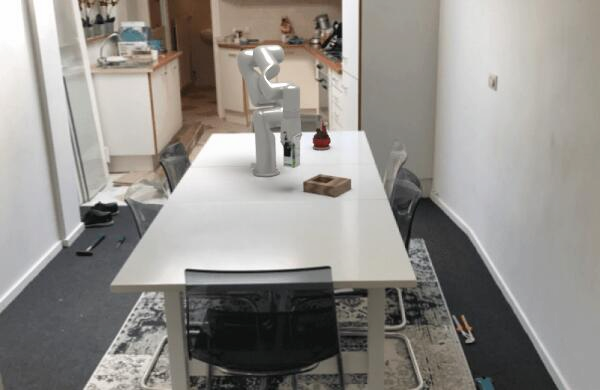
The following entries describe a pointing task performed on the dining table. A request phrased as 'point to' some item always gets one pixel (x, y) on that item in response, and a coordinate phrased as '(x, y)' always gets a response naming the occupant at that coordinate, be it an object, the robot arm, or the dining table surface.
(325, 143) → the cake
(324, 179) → the frame
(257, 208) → the dining table surface
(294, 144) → the syrup box
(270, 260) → the dining table surface
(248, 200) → the dining table surface
